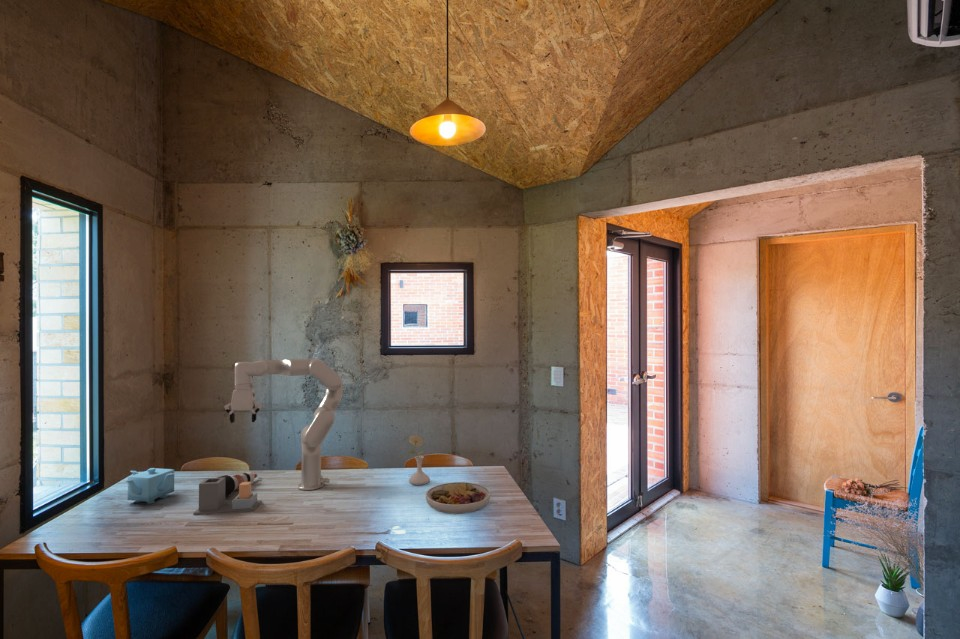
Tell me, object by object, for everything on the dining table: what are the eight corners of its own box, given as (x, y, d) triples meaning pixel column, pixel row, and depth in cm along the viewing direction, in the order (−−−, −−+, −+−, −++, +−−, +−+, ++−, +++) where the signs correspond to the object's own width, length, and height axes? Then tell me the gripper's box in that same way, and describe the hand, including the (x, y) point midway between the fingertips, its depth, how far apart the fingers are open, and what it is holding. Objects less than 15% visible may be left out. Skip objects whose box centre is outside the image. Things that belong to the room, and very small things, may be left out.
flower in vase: (434, 482, 243) (434, 434, 243) (420, 488, 233) (420, 439, 234) (415, 478, 250) (415, 432, 250) (401, 484, 240) (401, 436, 241)
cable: (258, 488, 247) (267, 471, 247) (214, 506, 213) (224, 486, 214) (243, 479, 249) (252, 462, 249) (197, 494, 215) (208, 475, 216)
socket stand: (261, 502, 216) (261, 474, 216) (253, 511, 205) (253, 482, 205) (204, 505, 212) (204, 477, 212) (193, 515, 201) (193, 485, 201)
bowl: (412, 504, 213) (412, 487, 213) (458, 487, 235) (458, 472, 235) (457, 522, 192) (457, 503, 192) (503, 502, 214) (503, 485, 214)
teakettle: (174, 490, 233) (174, 461, 233) (174, 501, 217) (174, 470, 218) (127, 498, 222) (127, 467, 223) (123, 510, 207) (124, 477, 207)
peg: (251, 503, 212) (251, 481, 212) (248, 506, 208) (248, 484, 208) (242, 503, 211) (242, 482, 211) (238, 507, 207) (239, 485, 207)
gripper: (264, 385, 229) (264, 420, 229) (227, 386, 226) (227, 421, 226) (259, 387, 221) (259, 423, 221) (221, 388, 219) (221, 424, 219)
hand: (243, 422), depth 224 cm, fingers open, 9 cm apart
